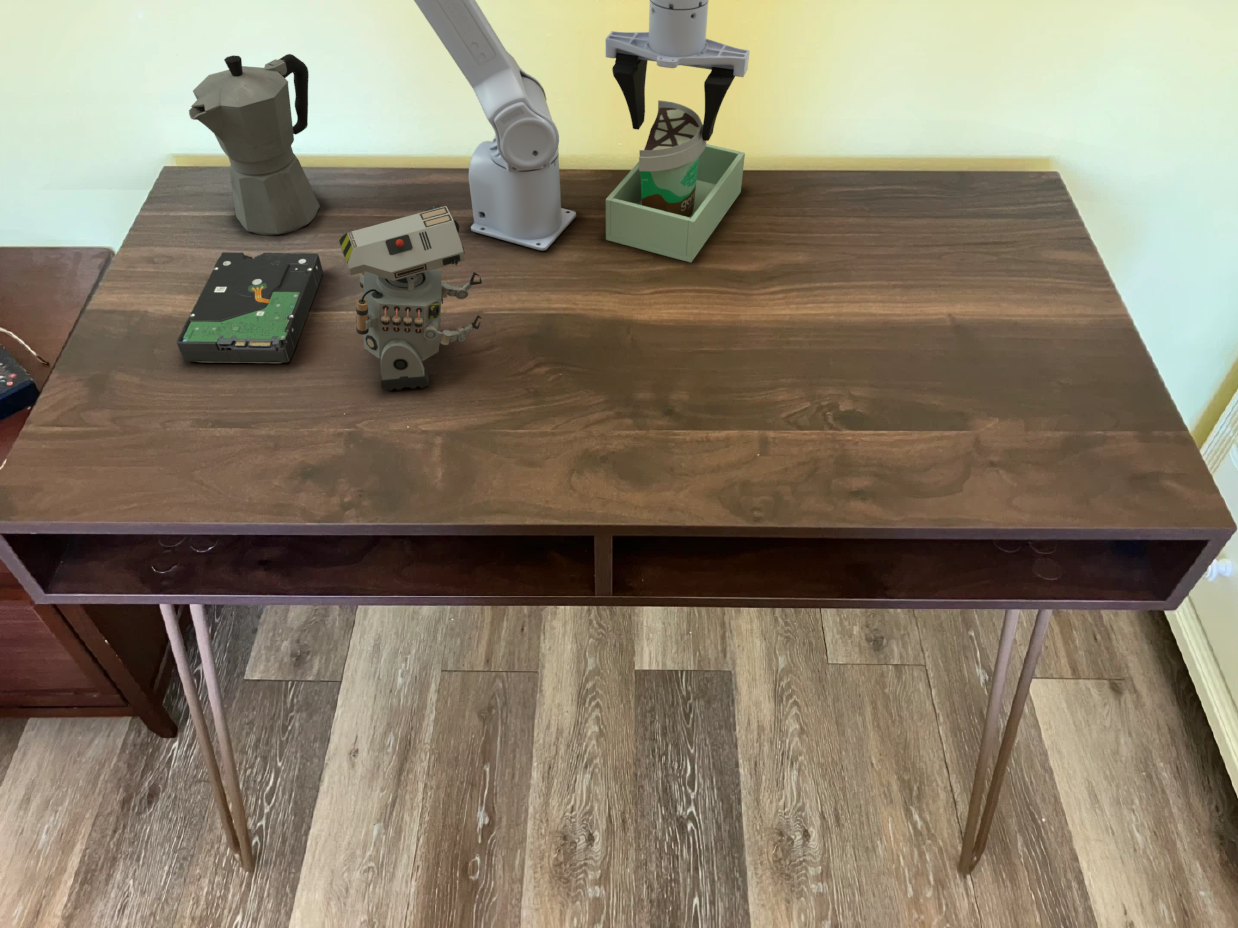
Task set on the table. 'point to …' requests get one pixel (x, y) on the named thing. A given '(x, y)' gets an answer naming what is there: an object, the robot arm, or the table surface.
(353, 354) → the table surface
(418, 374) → the figurine
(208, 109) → the coffeepot
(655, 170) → the food container
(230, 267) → the disk drive
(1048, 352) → the table surface
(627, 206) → the storage bin
